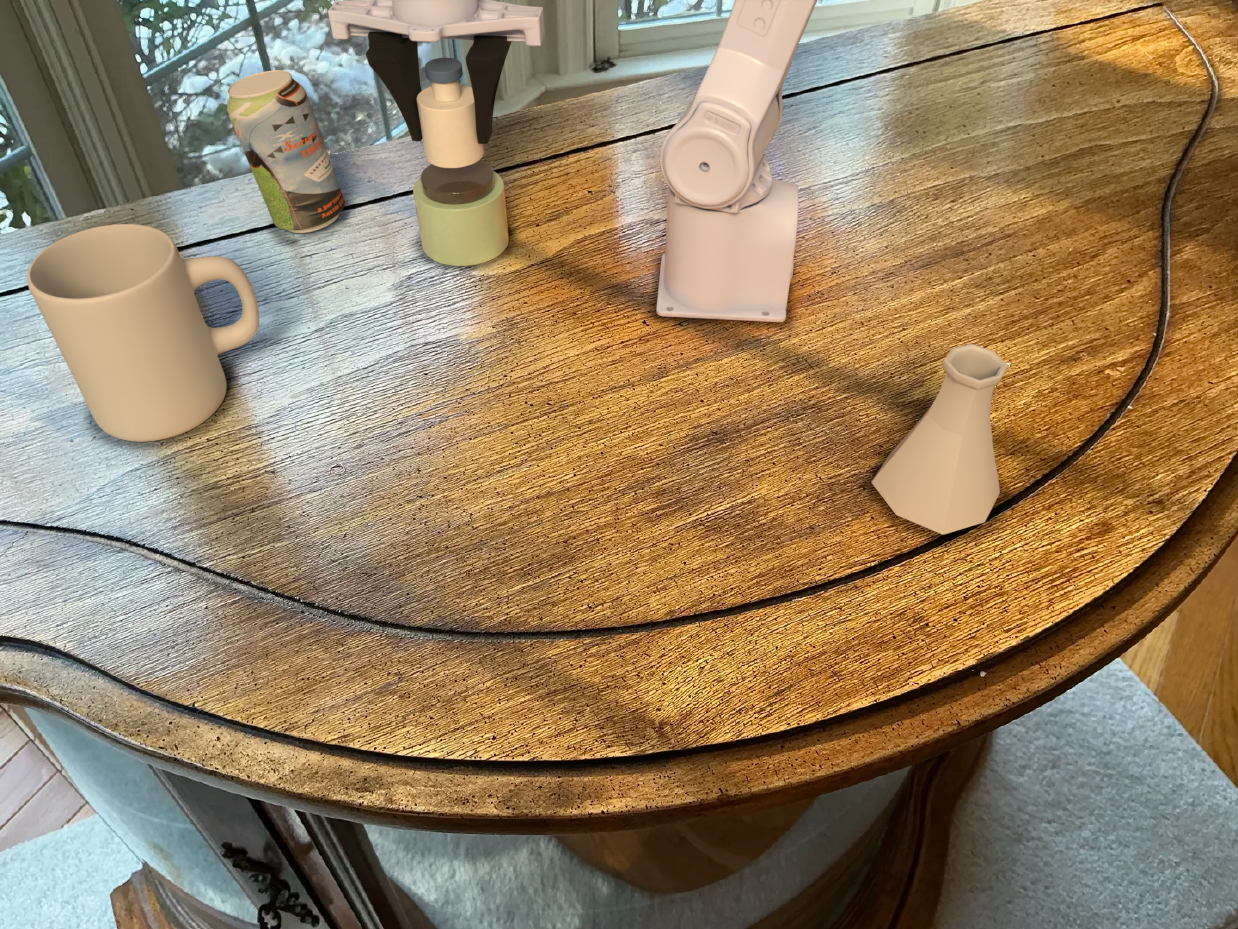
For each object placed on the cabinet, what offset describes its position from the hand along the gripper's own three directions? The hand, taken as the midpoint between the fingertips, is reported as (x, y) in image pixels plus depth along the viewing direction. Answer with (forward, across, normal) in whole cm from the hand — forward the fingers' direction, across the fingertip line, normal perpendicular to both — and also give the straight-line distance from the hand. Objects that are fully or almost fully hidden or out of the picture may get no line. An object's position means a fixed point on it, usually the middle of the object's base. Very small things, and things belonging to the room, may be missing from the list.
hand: (451, 136), depth 73 cm
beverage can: (+9, -14, +2) cm, 17 cm away
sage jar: (+9, 0, 0) cm, 9 cm away
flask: (+9, +34, -25) cm, 43 cm away
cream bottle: (+1, 0, 0) cm, 1 cm away
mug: (+9, -15, -20) cm, 27 cm away
